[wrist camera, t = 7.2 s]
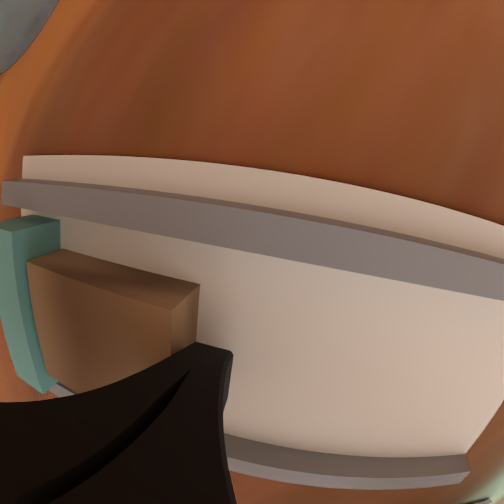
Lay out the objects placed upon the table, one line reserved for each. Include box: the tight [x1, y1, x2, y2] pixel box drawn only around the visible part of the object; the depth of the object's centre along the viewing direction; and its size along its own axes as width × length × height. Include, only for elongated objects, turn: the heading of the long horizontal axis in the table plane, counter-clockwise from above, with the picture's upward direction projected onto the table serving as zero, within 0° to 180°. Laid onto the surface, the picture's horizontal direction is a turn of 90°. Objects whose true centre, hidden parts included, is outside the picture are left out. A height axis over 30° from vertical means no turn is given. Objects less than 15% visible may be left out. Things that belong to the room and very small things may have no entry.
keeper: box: [26, 249, 200, 393], centre depth 9 cm, size 6×5×2 cm
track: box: [0, 155, 504, 490], centre depth 8 cm, size 22×12×3 cm, turn 82°
